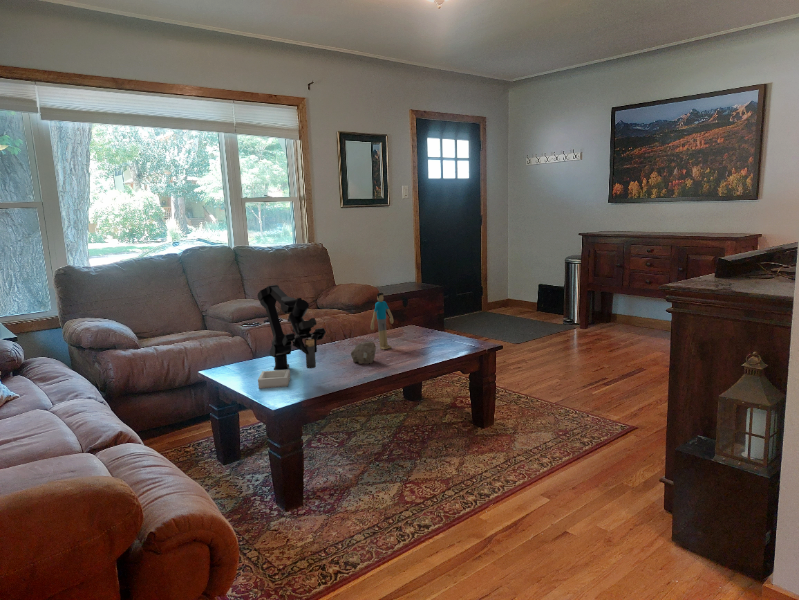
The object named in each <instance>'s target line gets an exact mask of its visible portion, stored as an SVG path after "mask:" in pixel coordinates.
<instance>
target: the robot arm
mask: <svg viewBox="0 0 799 600" xmlns="http://www.w3.org/2000/svg"><path fill="white" fill-rule="evenodd" d="M257 300H258V301H259V303H260V305H261V306H262V307H263V308H264V309H265V312H266V314H267V319H268V322H269V326H270V329H271V333H272V336H273V337H272V340H271V347H270V349H269V355H270V357H273V358H274V367H273V370H289V366H290V364H289V363H288V356H289V355H291V353H292V347H295V348H297V349H298V350H300V351H301V352H302V353H304V354H305V355H306V354H308V352H307V349H306V347H305V342H304V340H305V339H308V337H311V338H313V339H314V344H315V353H317V352H318V346H317V341H319V340H322V339H324V337H325V335H326V332H327V331H326V329H325V328H324V327H318V328H315V329H314V331H313V332H312V328H314V327H315V326H316V325H317V320H316V318H315V317H312V318H310V319H307V320H304V317H305V315H306V314H307V312H308V309H309V308H310V303H309V302H308V301H306V300H305V299H302V297H298V298H294V297H290V296H288V295H287V294H286V293H285V292H284V290H282V289H281V288H280V286H279V284H271V285H267V286H266V287H265V288H263V289H260V290H259V291H258V293H257ZM277 302H278V304H279V306H280V310H281V311H282V312H283V314H285V315H286V314H289V315H288V316H287V317H288V318H287V322H290V324H291V328H292V333H286V334H284V332H283V328H282V324H281V321H280V318H279V314H278V313H279V312H278V310H277V307H276V303H277Z"/></svg>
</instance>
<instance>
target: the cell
mask: <svg viewBox="0 0 799 600" xmlns="http://www.w3.org/2000/svg"><path fill="white" fill-rule="evenodd" d="M304 345H305V347H306V349H307V352H308V354H305V365H306V368H307V369H316V368H317V364H316V360H317V359H316V352H315V344H314V339H313V338H311V337H308V338H306V339H304Z"/></svg>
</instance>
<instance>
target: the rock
mask: <svg viewBox="0 0 799 600" xmlns="http://www.w3.org/2000/svg"><path fill="white" fill-rule="evenodd" d="M376 351H377V346H376V344H375V342H374V341H367V342H366V341H365V342H361V343H359V344H357V345H356V346H355V347H354V349H353V350H352V351H351V353H350V355H351V358H352V362H353V363H358V364H360V365H361V364H365V365H367V364H369V363H370V364H372V363H373V362H374V359H375V358H376Z"/></svg>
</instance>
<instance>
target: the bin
mask: <svg viewBox="0 0 799 600" xmlns="http://www.w3.org/2000/svg"><path fill="white" fill-rule="evenodd" d="M290 380H291V369H274V370H265V371H264V370H262V371H261V373H260V375H259V377H258V379H257V384H258V389H271V388H272V389H273V388H287V387H288V386H289V384H290Z"/></svg>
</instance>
